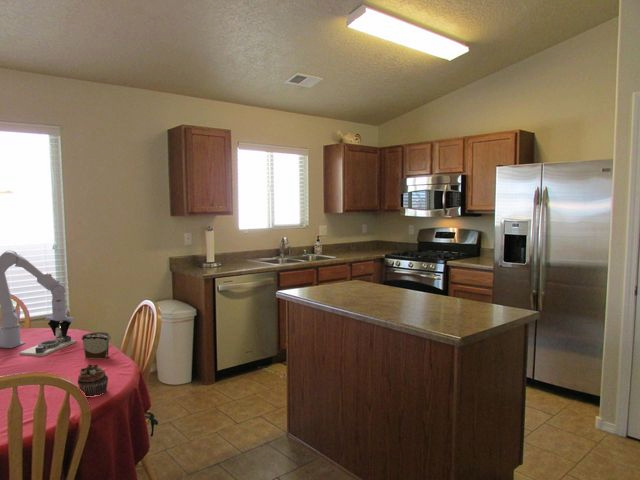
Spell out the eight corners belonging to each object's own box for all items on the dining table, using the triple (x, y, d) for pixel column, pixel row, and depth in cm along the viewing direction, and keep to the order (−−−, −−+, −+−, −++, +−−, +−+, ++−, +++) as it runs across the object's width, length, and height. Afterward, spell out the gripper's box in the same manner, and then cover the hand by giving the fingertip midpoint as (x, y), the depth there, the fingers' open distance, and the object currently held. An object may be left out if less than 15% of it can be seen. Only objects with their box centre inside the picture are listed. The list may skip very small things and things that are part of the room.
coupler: (53, 339, 217) (53, 327, 217) (60, 337, 221) (59, 325, 221) (61, 340, 216) (60, 328, 216) (67, 337, 220) (66, 326, 220)
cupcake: (103, 398, 153) (101, 370, 152) (73, 399, 152) (72, 371, 151) (113, 387, 163) (112, 360, 162) (85, 388, 162) (84, 361, 161)
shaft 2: (67, 340, 214) (67, 335, 214) (71, 341, 213) (70, 336, 212) (57, 343, 210) (56, 337, 210) (60, 344, 208) (60, 338, 208)
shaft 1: (42, 353, 196) (42, 347, 196) (35, 353, 195) (35, 347, 195) (47, 349, 201) (47, 344, 201) (40, 350, 200) (40, 344, 200)
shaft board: (19, 354, 196) (18, 348, 196) (54, 340, 216) (53, 335, 216) (42, 356, 194) (42, 350, 194) (76, 342, 214) (75, 337, 214)
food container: (117, 354, 197) (116, 332, 196) (109, 359, 191) (108, 336, 190) (90, 353, 198) (89, 331, 198) (82, 358, 192) (81, 335, 191)
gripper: (78, 307, 220) (79, 334, 221) (52, 305, 223) (53, 332, 224) (67, 310, 213) (68, 338, 214) (41, 309, 216) (42, 336, 217)
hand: (60, 335), depth 219 cm, fingers closed on coupler, 4 cm apart
